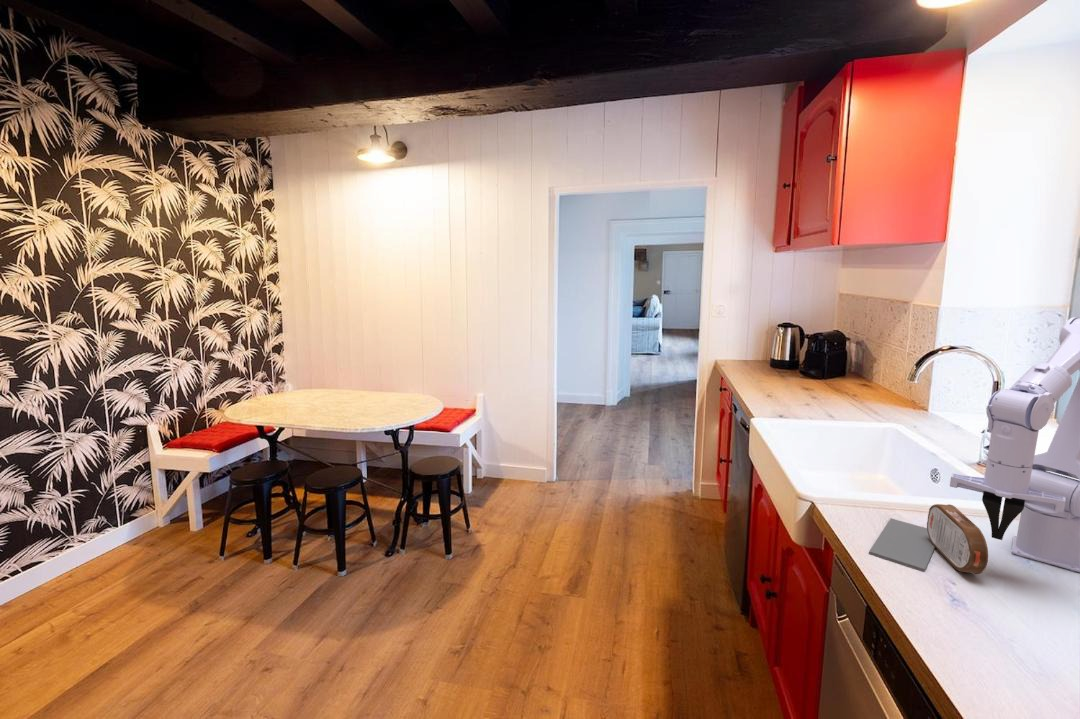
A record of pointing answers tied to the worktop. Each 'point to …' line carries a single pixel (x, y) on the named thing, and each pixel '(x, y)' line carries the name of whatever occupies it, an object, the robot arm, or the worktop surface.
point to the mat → (904, 544)
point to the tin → (957, 538)
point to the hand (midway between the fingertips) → (997, 536)
